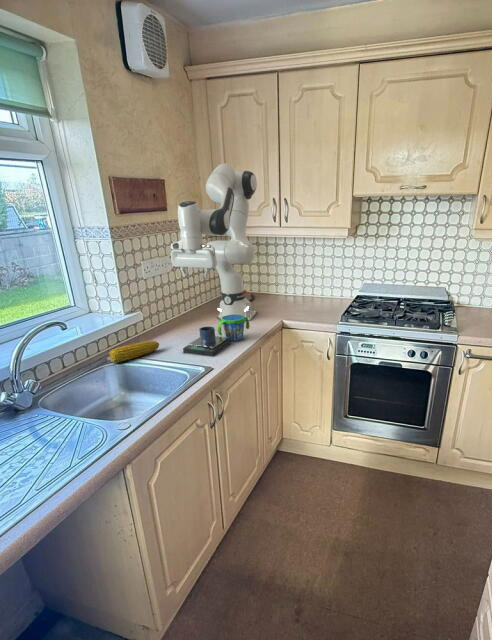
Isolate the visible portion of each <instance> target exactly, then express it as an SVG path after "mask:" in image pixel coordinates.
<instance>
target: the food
mask: <svg viewBox="0 0 492 640" xmlns="http://www.w3.org/2000/svg"><path fill="white" fill-rule="evenodd" d="M159 347H160V343H159V342H158V341H156V340H146V341H141V342H135V343H130V344H127V345H123V346H118V347H116V348H113V349H111V350H110V351H109V353H108V356H109V359H110V362H112V363H115V364H116V363H122V362H126V361H129V360H132V359H136V358H139V357H142V356H144V355H148V354H150V353H152V352H155V351H156V350H157V349H159Z"/></svg>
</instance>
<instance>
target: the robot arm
mask: <svg viewBox="0 0 492 640" xmlns="http://www.w3.org/2000/svg"><path fill="white" fill-rule="evenodd" d="M257 186H258V185H257V177H256V175H255V173H254V172H252V171H251V170H235V168H233V166H232V165H231V164H229V163H219V164H218V165H217V166H216V167H215V168H214V169H213V171H212V172H211V173H210V174H209V176H208V178H207V180H206V183H205V192H206V194H207V196H208V197H209V198H210V199H211V201H213V202H214V203H217V204H220V206H219V208H216V209H201V208H199V205H198V203H197V202H196V201H194V200H188V201H183V202H180V203H179V204H178V205H177V222H178V227H179V230H180V234H179V237H180V239H179V240H177V241H175V242H172V243H171V244H170V249H171V251H170V261H171V265H172V267H174V268H179V269H180V271H181V273H182V275H183V278H184V279H188V278H189V277H190V276H189V272H187V271H186V270H187V268H197V269H203V271H204V273H203V274H202V279H203V280H207V279H208V278H209V274H210V273H209V272H210V270H211V269H215V270H216V272H217V275H218V276H219V281H220V290H221V292H220V299H221V300H220V302H219V307H217V311H219V314H218V315H217V318H219V319H220V320H221V318H222V317H223V316H226V315H233V314H237V315H243V316H245V317H246V318H247V319H248V321H252V319H253V318H254V317H255V316H256V314H257V310H255V309H253V307H252V301H253V300H254V294H253V293H251V294H250V296H251V298H250V299H249V300H248V298H246V295H247V294H248V291H247V289H244V282H243V281H244V280H243V275H242V274H241V273H240V272H239V271H237V270H235V268H234V267H233V265H245V264H246V265H247V264H251V263H252V262H253V261H254V259H255V256H256V250H255V247H254V245H253V243H251V241H250V240H249V239H248V238H247V225H248V221H249V220H248V219H249V211H250V210H249V209H250V204H249V203H250V202H249V200H251V199H252V197H253V195H254V194H255V193H256V190H257V188H258V187H257ZM225 234H226V235H227V236H228V237H229V238H230V239H229V240H223V239H222V240H221V239H220V240H219V239H217V240H212V241H209V242H207V243H206V244H204V240H203V235H217V236H224V235H225ZM245 321H246V319H245Z"/></svg>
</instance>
